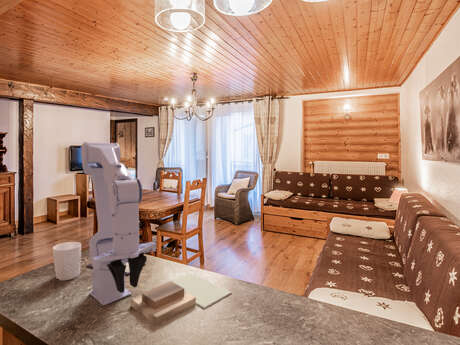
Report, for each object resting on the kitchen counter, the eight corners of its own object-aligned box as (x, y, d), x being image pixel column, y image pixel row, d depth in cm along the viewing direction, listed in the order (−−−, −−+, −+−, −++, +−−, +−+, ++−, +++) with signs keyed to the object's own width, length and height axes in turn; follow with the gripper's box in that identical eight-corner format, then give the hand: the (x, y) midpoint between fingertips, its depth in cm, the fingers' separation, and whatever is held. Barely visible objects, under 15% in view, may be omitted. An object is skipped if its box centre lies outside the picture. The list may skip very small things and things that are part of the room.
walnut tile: (142, 300, 71) (141, 293, 71) (170, 288, 78) (170, 281, 78) (155, 309, 67) (154, 301, 67) (184, 295, 74) (184, 288, 74)
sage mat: (163, 285, 83) (163, 284, 83) (190, 274, 91) (190, 273, 91) (204, 308, 71) (204, 307, 71) (231, 293, 79) (231, 292, 79)
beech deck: (130, 305, 72) (130, 298, 72) (169, 289, 81) (168, 282, 81) (156, 325, 64) (156, 317, 64) (195, 304, 73) (195, 297, 73)
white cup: (75, 268, 95) (74, 240, 94) (86, 274, 90) (85, 244, 90) (49, 276, 88) (48, 246, 88) (60, 284, 84) (59, 251, 83)
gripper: (101, 243, 56) (103, 307, 57) (162, 228, 66) (163, 283, 67) (87, 235, 60) (89, 295, 61) (146, 223, 71) (147, 274, 72)
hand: (127, 288), depth 65 cm, fingers open, 3 cm apart
